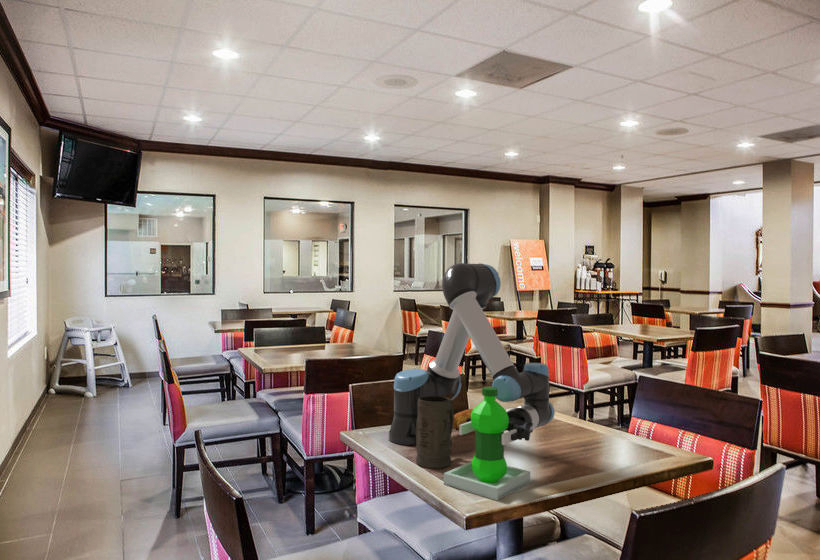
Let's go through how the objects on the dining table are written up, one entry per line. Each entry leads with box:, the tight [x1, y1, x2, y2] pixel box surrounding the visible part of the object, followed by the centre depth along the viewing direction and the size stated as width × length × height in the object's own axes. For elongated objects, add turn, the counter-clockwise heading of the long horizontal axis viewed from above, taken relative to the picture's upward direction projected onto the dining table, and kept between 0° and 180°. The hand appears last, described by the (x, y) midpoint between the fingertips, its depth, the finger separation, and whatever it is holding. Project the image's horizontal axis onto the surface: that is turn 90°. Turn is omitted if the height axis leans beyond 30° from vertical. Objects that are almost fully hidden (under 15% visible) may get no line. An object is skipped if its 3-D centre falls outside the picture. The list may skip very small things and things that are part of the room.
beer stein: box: [415, 396, 455, 469], centre depth 176 cm, size 15×11×20 cm
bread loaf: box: [452, 408, 475, 434], centre depth 214 cm, size 14×16×8 cm
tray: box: [443, 460, 531, 501], centre depth 157 cm, size 17×17×3 cm
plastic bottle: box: [471, 386, 509, 483], centre depth 157 cm, size 10×10×25 cm
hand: (480, 434), depth 155 cm, fingers open, 13 cm apart
